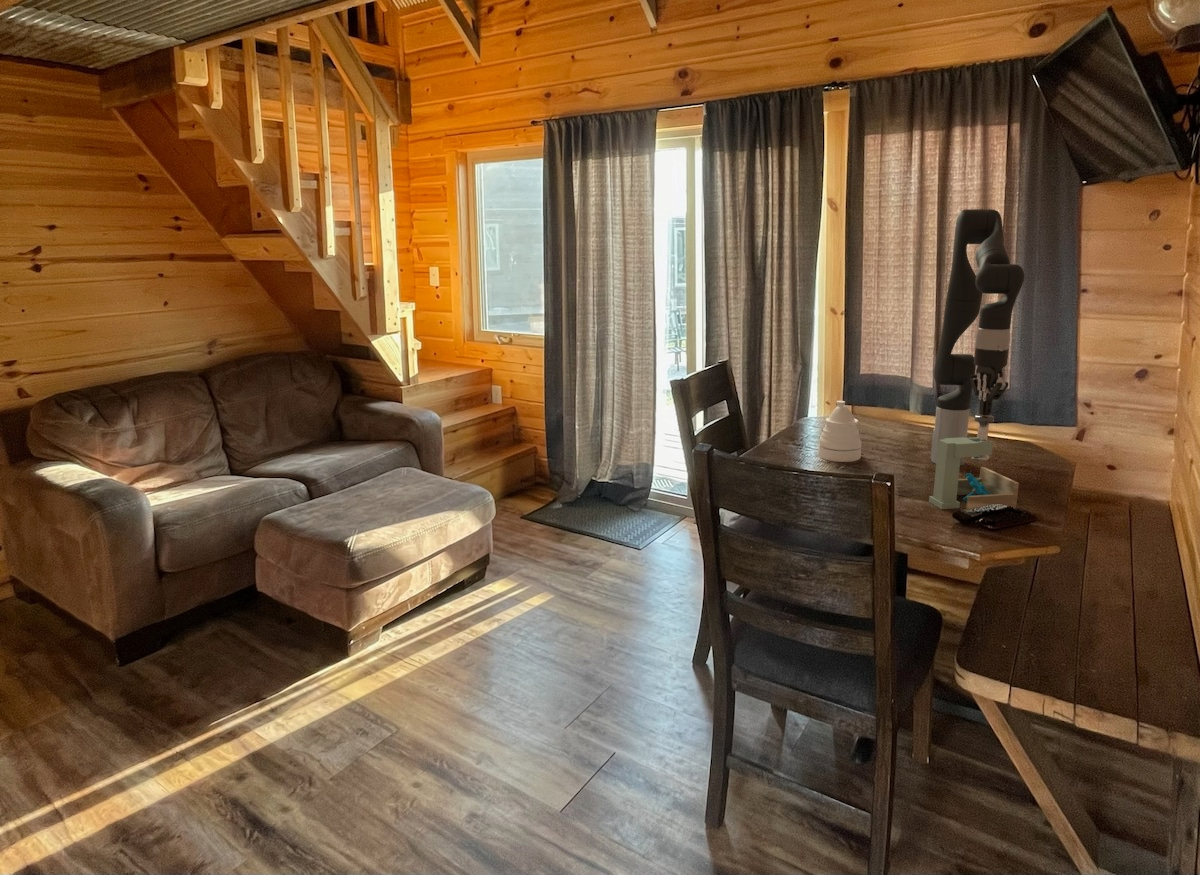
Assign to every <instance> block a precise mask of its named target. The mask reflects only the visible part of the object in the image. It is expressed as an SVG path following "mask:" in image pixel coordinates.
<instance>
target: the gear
mask: <svg viewBox="0 0 1200 875" xmlns="http://www.w3.org/2000/svg"><path fill="white" fill-rule="evenodd" d="M965 476H966V478H965V479H967V480H968V481H970V484H971V486H972V487H974V489H973V490H972V491H973V492H971V493H970V494H966V496H964V497H963V498H962V500H963V502H965V501H966V502H967V496H976V495H991V494H990V493H989V492H988V491H987V490H986V489H985V487H984V484H983V483H982V482H981V483H979V480H978V479H977V478H978V477H977V476H976V477H975V476H974V475H973V474H972V473H969V472H967V473H966V474H965Z"/></svg>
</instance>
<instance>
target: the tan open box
mask: <svg viewBox="0 0 1200 875" xmlns="http://www.w3.org/2000/svg"><path fill="white" fill-rule="evenodd" d="M976 478H977V479H978V480H979V483H981V482H982V483H983V484H984V487H985V489H986V490H987V491H988V492H989V493H990V494H991V495H981V494H978V495H974V496H967V495H968V494H970V493H971V492H973V491H972V490H973V489H974V487H972V486H971V484H970V481H968V480H967V478H958V488H957V495H958V496H959V495H966V496H967V501H966V506H965V511H966V510H970V509H975V508H979V507H982V506H987V505H991V504H1004V505H1008V506H1011V507H1013V508H1016V509H1017V501H1018V496H1019V495H1018V493H1019V486H1020V482H1018V481H1015V480H1013V479H1011V478H1009V477H1007V476H1004V475H1002V474H1001V473H999V472H996V471H994V470H992V469H990V468H988V467H985V466H981V467H980V472H979V477H976Z"/></svg>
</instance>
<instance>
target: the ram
mask: <svg viewBox="0 0 1200 875" xmlns="http://www.w3.org/2000/svg"><path fill="white" fill-rule="evenodd" d="M974 421H975V422H977V423H978V425H977V434H976V437H977V442H979V441H988V435H989V429H990V428H989V427H990V424H991V423H994V421H995V416H994V415H992V414H990V415H989V416H983V415H980V414H979V413H978V414H975V415H974ZM989 458H990V455H983V456H977V457H970V459H971V460H974V461H978V462H988V461H989Z"/></svg>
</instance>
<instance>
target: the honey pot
mask: <svg viewBox="0 0 1200 875" xmlns="http://www.w3.org/2000/svg"><path fill="white" fill-rule="evenodd" d="M845 404H846V401H844V400H836V405H837V406H836V407H835V408H834V409H833V411H832V412H831V413H830V416H829V417H826V418H825V419H824V420H825V426H824V427H823V428H822V432H821V434H820V437H819V440H818V441H819V442H818V451H817V456H818V458H820V459H823V460H826V461H831V462H837V463H838V462H839V463H840V462H843V463H848V462H855V461H859V460H860V459H861V456H862V454H861V453H862V439H861V438H860V437H861V436H860V430H859V429H858V426H857V425H858V424H859V423H860V422H859V420H858V419H857V418H855V417H854V415H853V413H852V411H851V409H850V408H849V407H848V406H847V405H845Z"/></svg>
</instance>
